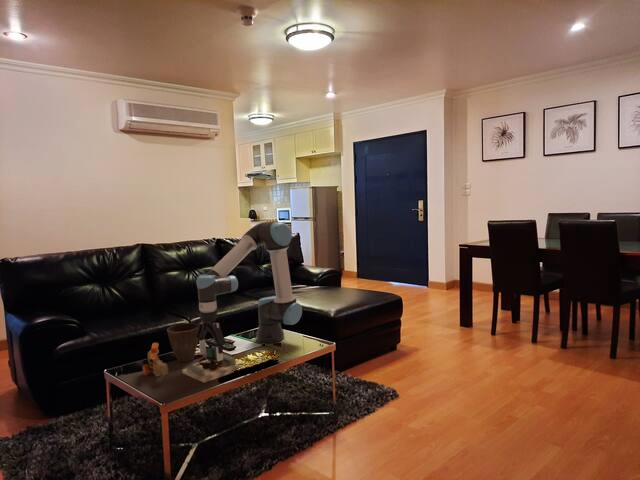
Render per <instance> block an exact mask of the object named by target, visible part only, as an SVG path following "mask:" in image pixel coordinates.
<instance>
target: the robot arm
mask: <svg viewBox="0 0 640 480" xmlns="http://www.w3.org/2000/svg"><path fill="white" fill-rule="evenodd" d="M292 238H293V233H292V229H291V228H290V227H289V226H288V224H286V223H285V222H278V221H277V222H276V221H275V222H273V221H272V222H267V221H266V222H264V221H263V222H260V223H257V224H255V225H254V226H252V227H251V228H250V229H248V230H247V231H246V232H245V233H244V234H243V235H242V236H241V239H240V240H239V242H238V243H237V244H236V245H234V246H233V247H232V248H231V250H229V251H228V253H226V254H225V255H224V256H223V257H222V259H220V260H219V261H218V262H216V264H215V265H214V266H212V268H211V269H210V270H209V271H208V272H206V273H204V274H200V275H198V277H197V278H196V283H195V284H196V287H197V294H198V295H197V297H198V309H199V319H198V323H197V324H198V329H197V333H196V338H198V343H199V344H198V345H199V354H200V356H202V355H207V344H206V342H207V341H206V335H207V333H209V334H210V335H212V338H213V341H214V342H215V345H217V346H216V354H217V361H220V360H223V355H224V351H223V350H224V349H223V346H224V345H226V339H225V337H224V334H223V331H222V328H221V323H220V322H216V320H217V319H218V310H217V309H218V305H217V296H220V295H223V294H224V295H225V294H229V293H233V292H236V291H237V290H238V288H239V281H238V278H237V277H236V276H235V275H229V274H230V273H231V272H232V270H234V269H235V267H237V266H238V265H239V263H241V262H242V261H243V260H244V259H245V257H247V256H248V254H250V253H251V251H255V250H257V248H258V247H261V246H263V245H265V250H266V251H267V252H268V253H269V257H270V263H271V270H272V277H273V283H274V289H275V295H273V296H267V297H262V298H260V299H258V301H257V313H258V329H257V334H256V335H255V336H256V337H255V338H256V342H258V343H259V342H260V343H264V344H265V343H267V344H268V343H271V344H272V343H277V342H280V341H283V340H284V339H285V333H284V331H283V327H282V325H281V324H283V325H292V326H293V325H295V324H297V323H299V321H300V319H301V317H302V314H303V307H302V305H301V304H300V303H299V302H298V301H297V297H296V296H295V295H294V294H293V287H292V281H291V273H290V266H289V262H288V261H289V260H288V253H287V250H288V249H289V247H290V246H289V244H290V243H291V242H292Z"/></svg>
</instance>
